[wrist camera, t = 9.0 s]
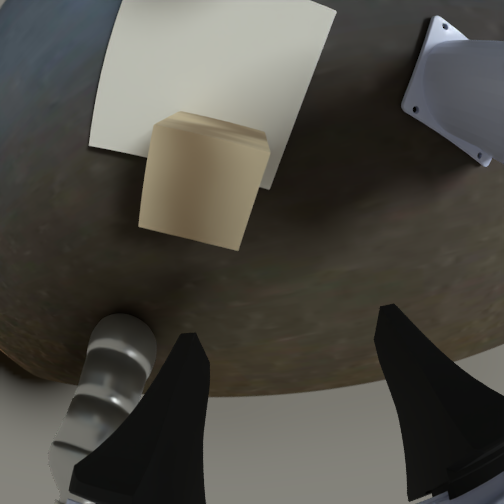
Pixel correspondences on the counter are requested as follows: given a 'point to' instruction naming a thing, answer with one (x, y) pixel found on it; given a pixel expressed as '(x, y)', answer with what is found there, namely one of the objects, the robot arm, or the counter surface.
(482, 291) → the counter surface
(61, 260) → the counter surface
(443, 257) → the counter surface
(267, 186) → the plate
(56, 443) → the plastic bottle
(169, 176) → the cube
